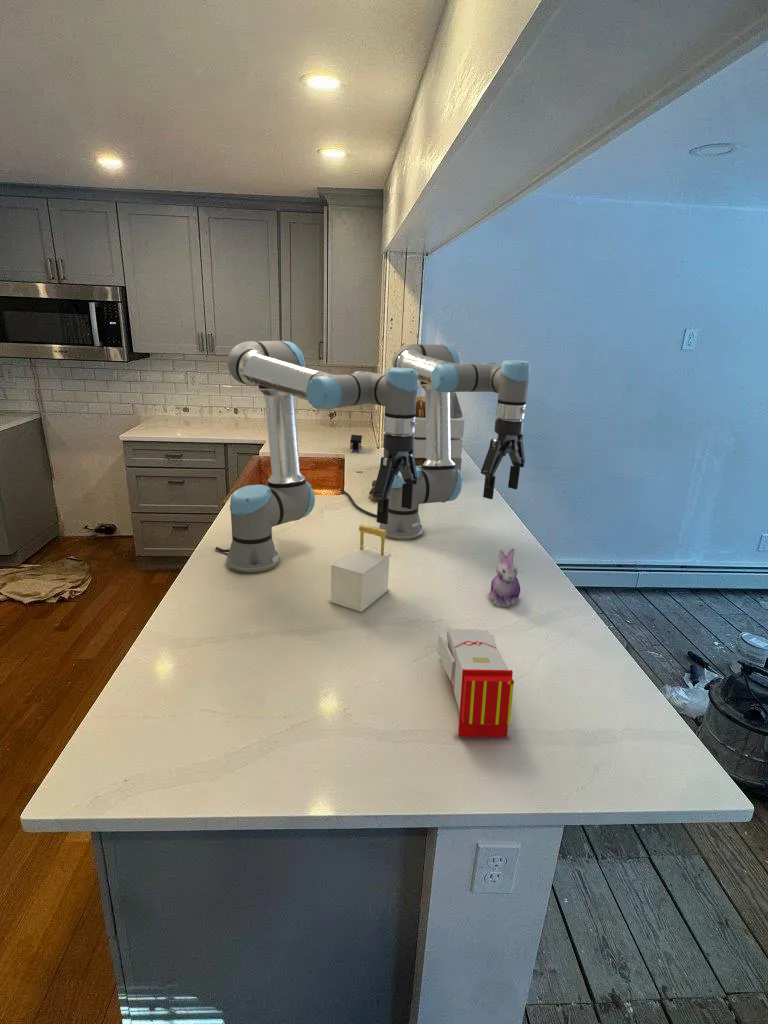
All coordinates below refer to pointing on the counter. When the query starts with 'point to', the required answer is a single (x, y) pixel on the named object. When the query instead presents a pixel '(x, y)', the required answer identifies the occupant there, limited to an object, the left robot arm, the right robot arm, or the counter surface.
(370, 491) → the fossil
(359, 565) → the lid
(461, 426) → the white wooden crate
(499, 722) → the toy
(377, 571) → the chest
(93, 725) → the counter surface
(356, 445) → the figurine character
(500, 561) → the figurine
